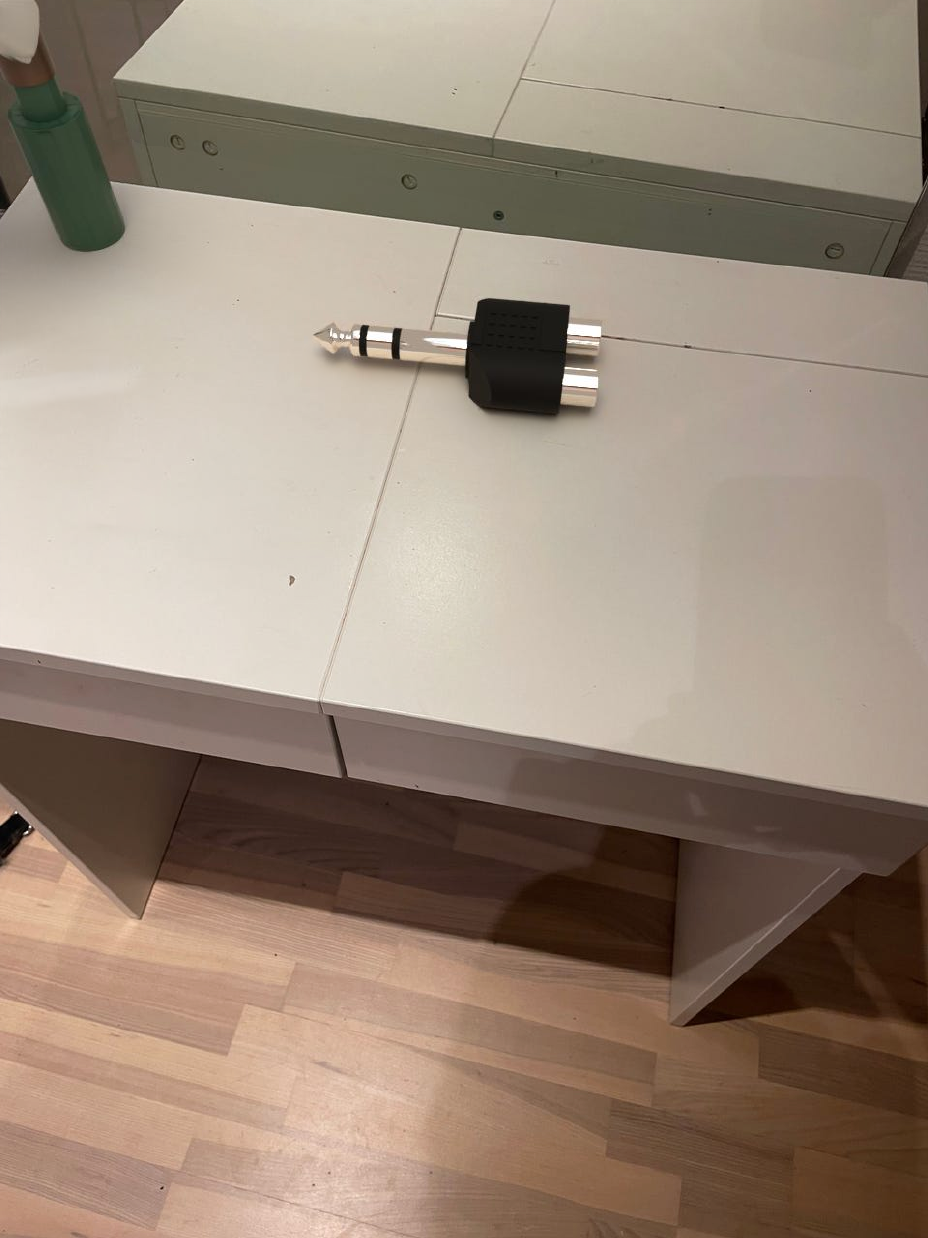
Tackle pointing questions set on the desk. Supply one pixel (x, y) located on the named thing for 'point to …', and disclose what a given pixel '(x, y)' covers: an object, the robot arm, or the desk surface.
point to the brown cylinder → (30, 67)
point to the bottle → (66, 165)
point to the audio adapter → (495, 353)
